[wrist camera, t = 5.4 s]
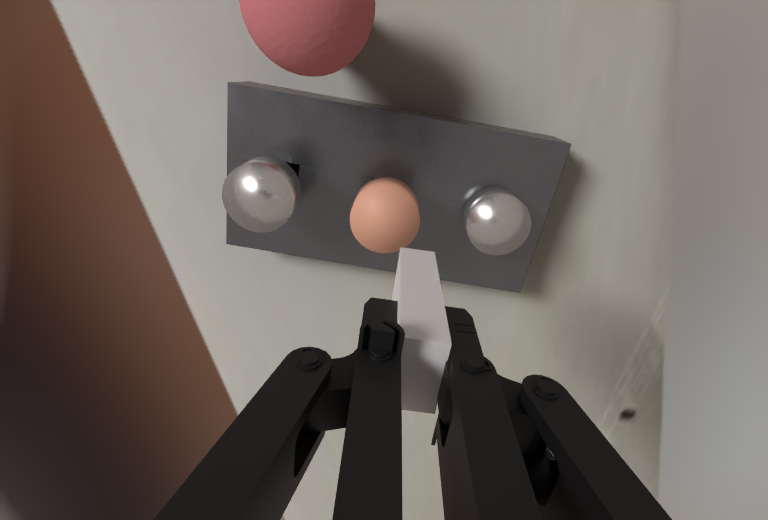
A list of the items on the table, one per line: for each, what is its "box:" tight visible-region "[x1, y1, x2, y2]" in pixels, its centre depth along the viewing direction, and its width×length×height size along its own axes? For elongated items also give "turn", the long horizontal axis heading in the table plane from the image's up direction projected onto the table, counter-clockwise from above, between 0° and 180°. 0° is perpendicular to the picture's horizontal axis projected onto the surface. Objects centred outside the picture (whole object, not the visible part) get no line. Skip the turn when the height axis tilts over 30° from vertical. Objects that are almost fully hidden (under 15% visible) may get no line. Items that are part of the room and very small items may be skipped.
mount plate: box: [226, 81, 571, 293], centre depth 33 cm, size 12×24×4 cm, turn 81°
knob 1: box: [222, 156, 302, 233], centre depth 28 cm, size 4×4×6 cm
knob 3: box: [463, 187, 531, 255], centre depth 32 cm, size 4×4×6 cm
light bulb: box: [239, 0, 375, 76], centre depth 24 cm, size 7×7×12 cm
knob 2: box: [350, 177, 420, 253], centre depth 29 cm, size 4×4×6 cm
